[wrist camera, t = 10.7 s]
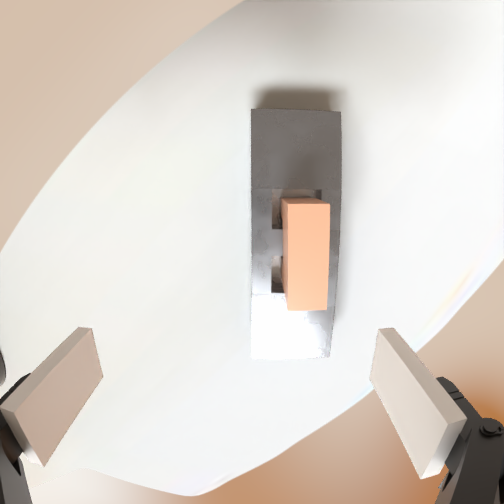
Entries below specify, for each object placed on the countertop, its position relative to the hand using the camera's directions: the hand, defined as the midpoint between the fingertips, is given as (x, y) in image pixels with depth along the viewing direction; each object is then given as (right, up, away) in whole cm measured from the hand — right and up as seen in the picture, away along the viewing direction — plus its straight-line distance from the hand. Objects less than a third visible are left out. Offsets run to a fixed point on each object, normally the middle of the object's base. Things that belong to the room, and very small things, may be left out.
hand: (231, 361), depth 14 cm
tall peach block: (+5, +6, +18) cm, 20 cm away
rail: (+5, +6, +19) cm, 21 cm away
